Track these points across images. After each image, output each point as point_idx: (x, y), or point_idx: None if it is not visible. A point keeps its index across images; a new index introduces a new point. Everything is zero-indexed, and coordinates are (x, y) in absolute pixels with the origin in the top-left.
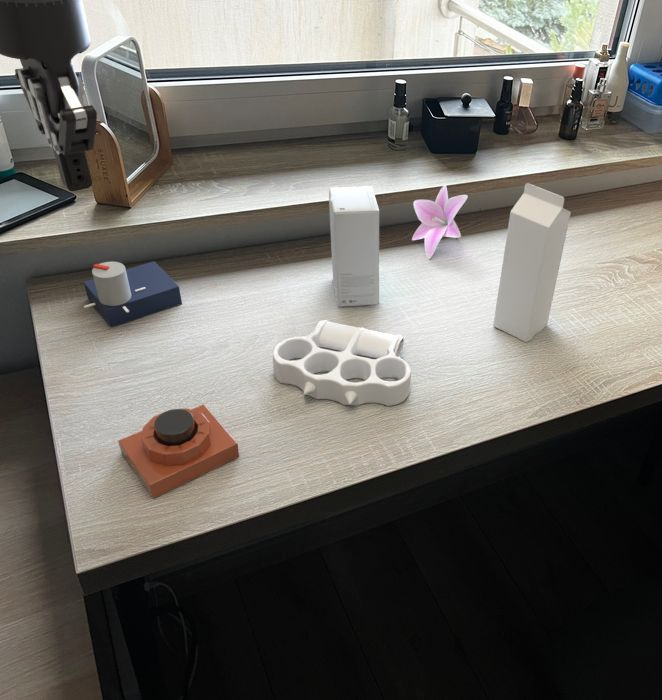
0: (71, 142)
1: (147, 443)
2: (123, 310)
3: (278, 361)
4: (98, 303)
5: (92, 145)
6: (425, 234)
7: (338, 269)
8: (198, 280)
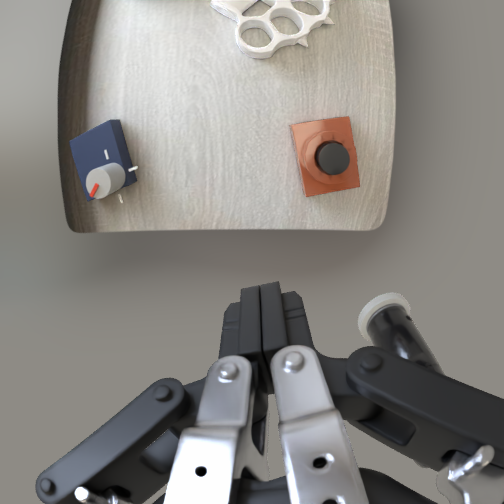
0: (381, 407)
1: (336, 181)
2: (127, 170)
3: (268, 50)
4: None
5: (403, 359)
6: None
7: None
8: (90, 104)
